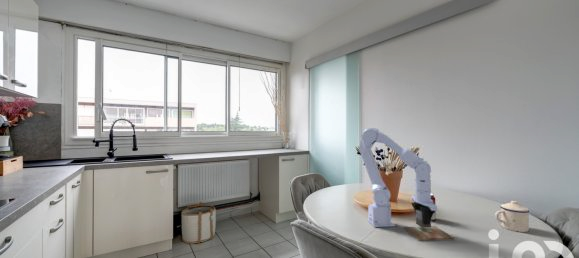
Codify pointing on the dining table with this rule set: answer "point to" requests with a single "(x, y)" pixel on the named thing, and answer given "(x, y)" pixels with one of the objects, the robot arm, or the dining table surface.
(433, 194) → the soda can
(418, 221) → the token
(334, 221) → the dining table surface
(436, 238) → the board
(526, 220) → the teacup with lid
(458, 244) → the dining table surface
